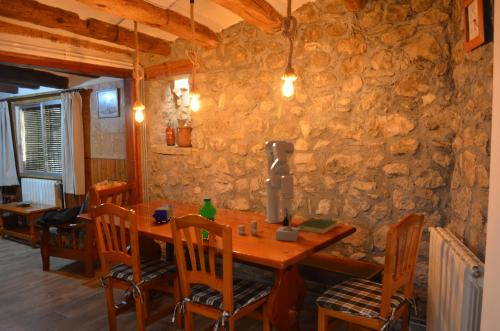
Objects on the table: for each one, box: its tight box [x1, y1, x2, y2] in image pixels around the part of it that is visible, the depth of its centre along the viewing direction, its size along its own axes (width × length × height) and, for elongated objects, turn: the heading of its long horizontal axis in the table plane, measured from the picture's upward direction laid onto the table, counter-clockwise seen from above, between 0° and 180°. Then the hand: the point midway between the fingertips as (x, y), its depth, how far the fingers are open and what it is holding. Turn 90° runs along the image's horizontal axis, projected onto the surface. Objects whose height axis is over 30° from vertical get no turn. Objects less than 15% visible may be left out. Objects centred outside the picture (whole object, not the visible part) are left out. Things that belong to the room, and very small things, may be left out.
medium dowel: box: [250, 220, 258, 236], centre depth 235 cm, size 4×4×8 cm
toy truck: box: [152, 204, 174, 224], centre depth 278 cm, size 10×25×10 cm, turn 179°
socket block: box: [275, 226, 300, 242], centre depth 226 cm, size 12×12×5 cm
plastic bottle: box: [198, 197, 217, 239], centre depth 224 cm, size 10×10×25 cm
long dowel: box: [283, 214, 292, 231], centre depth 226 cm, size 4×4×14 cm
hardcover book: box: [296, 217, 339, 234], centre depth 250 cm, size 25×19×4 cm
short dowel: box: [238, 224, 246, 236], centre depth 237 cm, size 4×4×5 cm
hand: (287, 224), depth 226 cm, fingers open, 9 cm apart
